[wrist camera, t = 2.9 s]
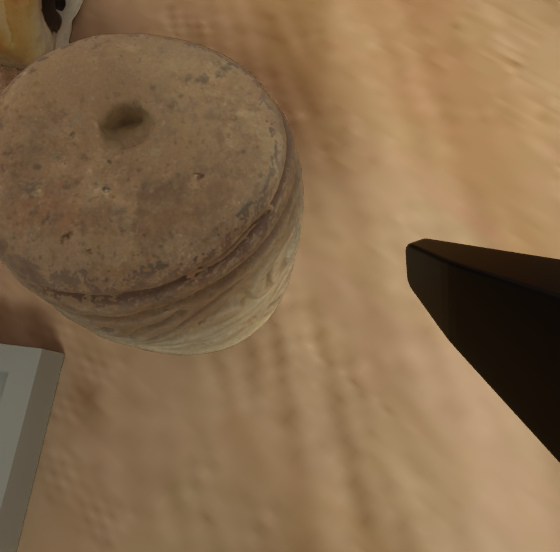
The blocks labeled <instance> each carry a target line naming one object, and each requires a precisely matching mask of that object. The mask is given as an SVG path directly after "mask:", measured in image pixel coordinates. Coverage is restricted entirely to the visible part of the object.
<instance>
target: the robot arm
mask: <svg viewBox="0 0 560 552" xmlns="http://www.w3.org/2000/svg"><path fill="white" fill-rule="evenodd" d="M406 265H407V278H408V282H409V285H410V287H411V289H412V290H413V291H414V293H415V294H416V296H417V297H418V298H419V300H420V301H421V303H422V304H423V305H424V307H425V308H426V310H427V311H428V312H429V314H430V315H431V317H432V318H433V319H434V321H435V322H436V323H437V325H438V326H439V328H440V329H441V330H442V332H443V333H444V334H445V336H446V337H447V338H448V340H449V341H450V342H451V343H452V344H453V345H454V347H455V348H456V349H457V350H458V351H459V352H460V353H461V354H462V356H463V357H464V358H465V359H466V360H467V361H468V362H469V363H470V364H471V365H472V367H473V368H474V369H475V370H476V371H477V372H478V373H479V374H480V375H481V376H482V378H483V379H484V380H485V381H486V382H487V383H488V384H489V385H490V386H491V387H492V389H493V390H494V391H495V392H496V393H497V394H498V395H499V396H500V397H501V399H502V400H503V401H504V402H505V403H506V404H507V405H508V406H509V407H510V408H511V410H512V411H513V412H514V413H515V414H516V415H517V416H518V417H519V418H520V419H521V421H522V422H523V423H524V424H525V425H526V426H527V427H528V428H529V429H530V430H531V432H532V433H533V434H534V435H535V436H536V437H537V438H538V439H539V440H540V441H541V443H542V444H543V445H544V446H545V447H546V448H547V449H548V450H549V451H550V452H551V454H552V455H553V456H554V457H555V458H556V459H557V460H558V461H559V462H560V259H553V258H547V257H541V256H534V255H528V254H522V253H515V252H509V251H502V250H496V249H490V248H483V247H477V246H471V245H464V244H458V243H452V242H445V241H439V240H433V239H421V240H418V241H415V242H413V243H410V244H408V246H407V247H406Z"/></svg>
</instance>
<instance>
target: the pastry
mask: <svg viewBox="0 0 560 552" xmlns="http://www.w3.org/2000/svg"><path fill="white" fill-rule="evenodd" d="M82 2H83V0H0V64H1V65H4V66H10V67H14V68H21V69H25V68H26V67H27V66H29V65H30V64H31V63H33V62H34V61H36V60H37V59H39V58H40V57H42V56H44V55H46V54H47V53H49V52H51V51H53V50H56V49H58V48H60V47H62V46H65V45H67V44H69V39H70V35H71V29H72V20H73V19H74V17H75V16H76V15H77V13H78V11H79V9H80V7H81V5H82Z"/></svg>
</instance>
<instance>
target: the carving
mask: <svg viewBox="0 0 560 552" xmlns="http://www.w3.org/2000/svg"><path fill="white" fill-rule="evenodd" d="M303 194H304V187H303V182H302V169H301V164H300V160H299V156H298V152H297V150H296V146H295V141H294V138H293V133H292V130H291V128H290V126H289V124H288V122H287V120H286V118H285V116H284V114H283V112H282V111H281V109H280V108H279V106H278V105H277V104H276V103H275V102H274V101H273V100H272V98H271V97H270V96H269V94H268V93H267V92H266V91H265V90H264V88H263V87H262V85H261V84H260V83H259V82H258V81H257V80H256V78H255V77H254V76H253V75H252V74H251V73H250V72H248V71H247V70H246V69H245V68H243V67H242V66H240V65H239V64H238V63H236V62H234V61H233V60H231V59H229V58H228V57H226V56H224V55H222V54H220V53H218V52H216V51H214V50H212V49H209V48H207V47H205V46H202V45H199V44H196V43H192V42H189V41H185V40H181V39H176V38H170V37H164V36H158V35H150V34H141V33H133V34H104V35H96V36H92V37H88V38H84V39H81V40H78V41H75V42H72V43H70V44H67V45H65V46H62V47H60V48H58V49H56V50H53V51H51V52H49V53H47V54H46V55H44V56H42V57H40V58H39V59H37V60H36V61H34V62H33V63H31V64H30V65H29V66H27V67H26V68H25V69H24V70H23V71H22V72H21V73H20V74H18V75H17V76H16V77H15V78H14V79H13V80H12V81H11V82H10V83H9V84H8V85H7V86H6V88H5V89H4V90H3V91H2V92H1V94H0V260H1V261H2V262H3V264H4V265H5V266H6V267H7V269H8V270H9V271H10V272H11V273H12V274H13V275H14V276H15V277H16V279H17V280H18V281H19V282H20V283H22V284H23V285H24V286H25V287H27V288H28V289H29V290H30V291H32V292H34V293H35V294H36V295H38V296H39V297H41V298H42V299H44V300H45V301H47V302H48V303H50V304H52V305H53V306H54V307H55V308H56V309H57V310H59V311H60V312H61V313H62V314H63V315H64V316H66V317H67V318H69V319H70V320H72V321H74V322H76V323H77V324H79V325H81V326H83V327H85V328H87V329H89V330H90V331H92V332H93V333H95V334H97V335H98V336H100V337H103V338H106V339H109V340H111V341H114V342H117V343H121V344H125V345H129V346H134V347H136V348H139V349H143V350H147V351H152V352H158V353H166V354H173V355H196V354H206V353H210V352H215V351H220V350H223V349H226V348H229V347H231V346H233V345H235V344H237V343H239V342H241V341H242V340H244V339H246V338H247V337H249V336H250V335H252V334H253V333H254V332H255V331H257V330H258V329H259V328H260V327H261V326H262V325H263V324H264V323H265V322H266V321H267V320H268V319H269V317H270V316H271V315H272V314H273V312H274V311H275V309H276V307H277V305H278V304H279V302H280V300H281V298H282V296H283V294H284V291H285V289H286V287H287V285H288V282H289V279H290V275H291V272H292V269H293V265H294V257H295V255H296V251H297V248H298V244H299V239H300V232H301V219H302V214H303V209H304V199H303Z"/></svg>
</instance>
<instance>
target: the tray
mask: <svg viewBox="0 0 560 552" xmlns="http://www.w3.org/2000/svg"><path fill="white" fill-rule="evenodd" d="M64 355H65V354H63V353H59V352H55V351H51V350H46V349H42V348H33V347H24V346H16V345H7V344H0V552H16V551H17V547H18V543H19V539H20V535H21V531H22V527H23V522H24V518H25V514H26V510H27V506H28V502H29V498H30V494H31V490H32V486H33V482H34V477H35V473H36V469H37V465H38V461H39V457H40V453H41V449H42V445H43V441H44V437H45V432H46V428H47V424H48V420H49V416H50V412H51V408H52V404H53V400H54V396H55V392H56V387H57V383H58V379H59V375H60V371H61V367H62V363H63V359H64Z"/></svg>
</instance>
